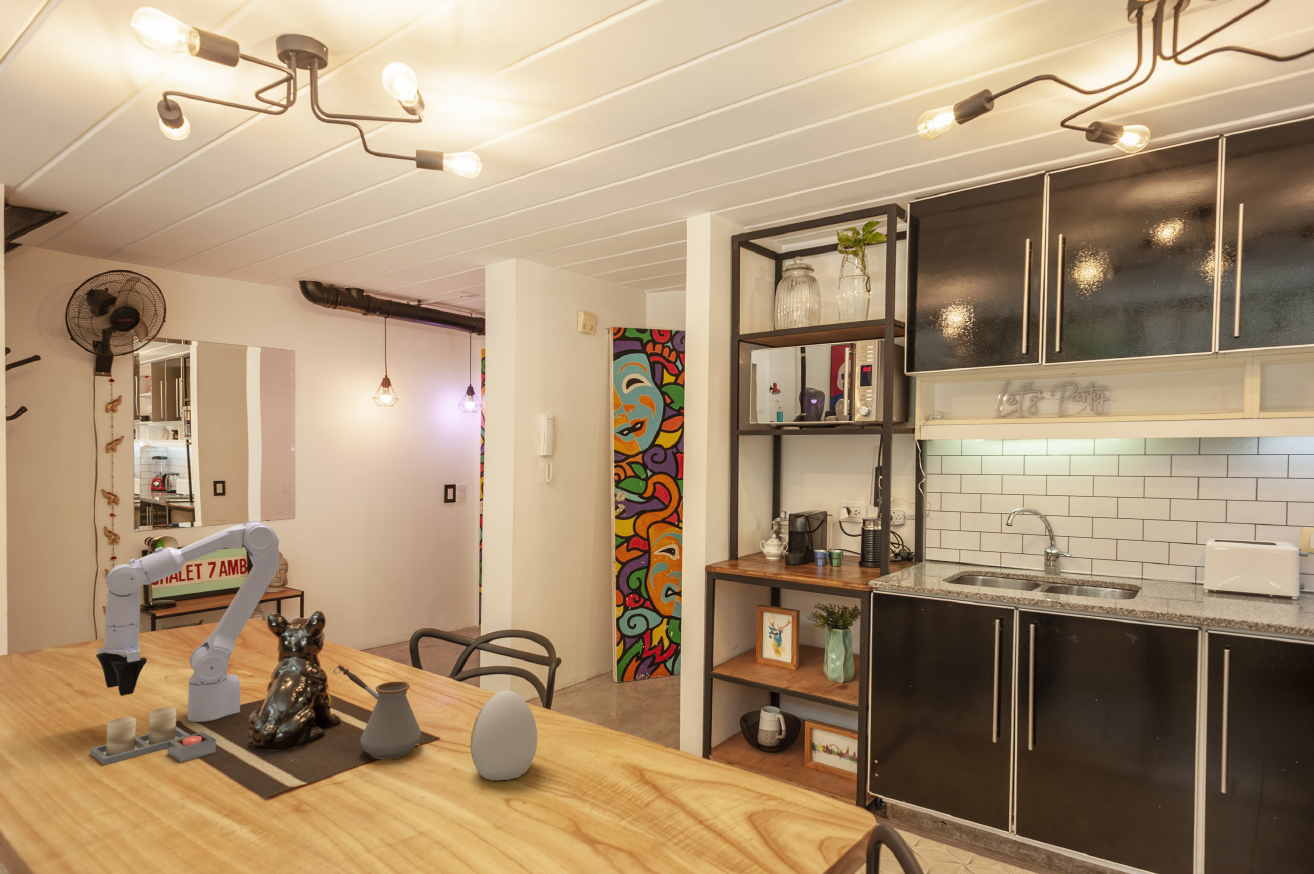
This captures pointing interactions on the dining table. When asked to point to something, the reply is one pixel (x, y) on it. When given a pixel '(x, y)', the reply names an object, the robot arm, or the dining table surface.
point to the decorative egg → (504, 737)
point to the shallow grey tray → (140, 749)
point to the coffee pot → (388, 720)
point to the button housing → (191, 748)
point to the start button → (191, 740)
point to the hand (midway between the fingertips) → (120, 690)
